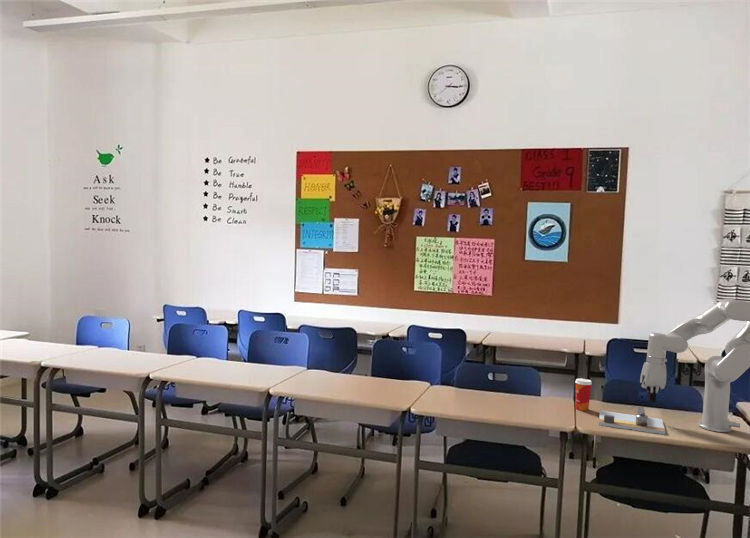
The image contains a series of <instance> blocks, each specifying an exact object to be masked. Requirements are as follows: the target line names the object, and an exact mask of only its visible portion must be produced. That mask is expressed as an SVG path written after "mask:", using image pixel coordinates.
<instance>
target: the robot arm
mask: <svg viewBox="0 0 750 538" xmlns="http://www.w3.org/2000/svg"><path fill="white" fill-rule="evenodd" d="M731 320H733V321H739V322H745V324H744V325H743V327H742V328H741V329H740V330H739V332H738V333H736V334H735V335H734V336H733V337H732V338H731V339H730V340H729V341H728V342H727V343H726V345H725V347H724V351H725V354H726V355H725V356H724V357H723V356H721V355H714V356H710V357H709V358H707V360H706V361H705V364H704V378H705V379H704V394H703V395H704V396H703V405H702V406H703V410H702V420H700V421H698V422H697V425H698V427H699V428H702V429H704V430H707V431H711V432H718V433H730V432H732V427H734V428H739V429H740V428H741V423H740V422H736V421H730V420H729V409H730V407H729V406H730V395H731V383H732V382H734V381H736V380H737V379H739V377H740V376H742V375H743V374H744V373H745V372H746V371H747V370H748V369H749V368H750V301H745V300H738V299H735V298H728V297H727V298H722V299H721V300H719V301H718V302H716V303H715V304H714V305H711V306H710V307H709V308H708V309H706V310H705V311H704V312H702V313H700V314H699V315H697V316H695V317H693V318H691V319H689V320H688V321H685V322H683V323H681V324H680V325H678V326H676V327H675V328H674V329H672V330H671V331H669V332H668V333H667V334H665V333H662V332H661V333H660V332H651V333H649V335H648V343H647V351H646V352H647V353H646V359H645V360H646V361H644V362H643V365H642V369H641V373H640V379H639V383H640V384H641V386H640V387H641V388H643V389H645V390H646V391H647V401H648V402H650V403H656V399H657V394H658V393H659V391H660V390H664V389H665V386H666V383H667V365H666V363H667V362H668V358H666V355H667V351H668V352H671V353H675V354H676V353H677V354H680V353H683V352H686V351H687V350H688V347H689V344H688V343H689V342H688V341H689V340H690V339H692V338H694V337H697V336H701V335H706V334H709V333H712V332H715V331H716V329H718V328H720V327H721V326H722V325H724V324H726V323H727V322H729V321H731Z"/></svg>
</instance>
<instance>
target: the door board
mask: <svg viewBox="0 0 750 538" xmlns="http://www.w3.org/2000/svg"><path fill="white" fill-rule="evenodd" d="M598 417H599V419H598V425H599V426H604V427H610V428H616V429H617V428H618V429H623V430H630V429H632V431H636V430H638V431H639V432H643V431H644V433H651V434H657V433H658V435H664V436H666V428H665V425H664V422H663V419H662V418H657V417H649V416H648V422H647V425H646V426H643V425H638V424H636V415H635V414H629V413H628V414H627V413H622V412H621V413H619V412H614V411H613V412H612V411H607V410H599V416H598Z"/></svg>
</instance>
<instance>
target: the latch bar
mask: <svg viewBox="0 0 750 538" xmlns="http://www.w3.org/2000/svg"><path fill="white" fill-rule="evenodd" d="M648 417H649V416H648V415H646V411H645V406H638V405H637V406H636V424H638V425H643V426H646V425H647V422H648Z"/></svg>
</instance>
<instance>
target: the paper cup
mask: <svg viewBox="0 0 750 538" xmlns="http://www.w3.org/2000/svg"><path fill="white" fill-rule="evenodd" d="M574 383H575V409H576V410H577V411H580V412H587V411H589V406H590V401H591V400H590V398H591V391H592V385H593V383H592V380H591V379H586V378H576V379H575V381H574Z"/></svg>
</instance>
